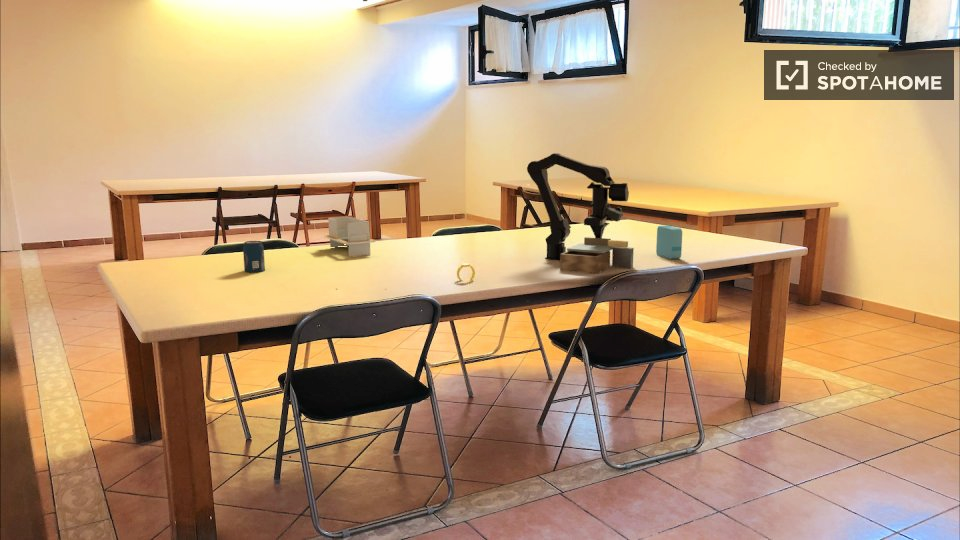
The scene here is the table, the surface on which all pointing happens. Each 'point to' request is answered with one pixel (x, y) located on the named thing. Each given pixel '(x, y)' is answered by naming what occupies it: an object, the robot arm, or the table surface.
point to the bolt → (617, 243)
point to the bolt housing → (622, 257)
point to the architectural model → (350, 234)
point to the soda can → (253, 257)
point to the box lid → (592, 245)
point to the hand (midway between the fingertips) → (598, 241)
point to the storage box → (584, 261)
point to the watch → (465, 266)
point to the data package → (669, 242)
